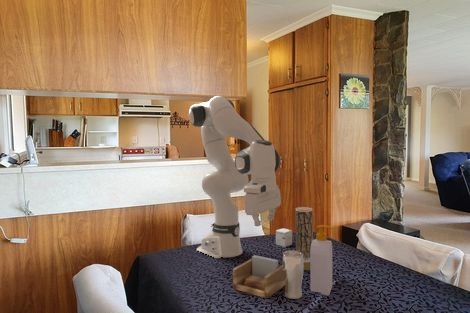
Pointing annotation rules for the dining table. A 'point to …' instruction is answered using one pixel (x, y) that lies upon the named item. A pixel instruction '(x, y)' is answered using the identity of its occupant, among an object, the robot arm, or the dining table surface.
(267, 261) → the grey block
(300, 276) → the beer glass
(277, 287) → the tray
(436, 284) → the dining table surface
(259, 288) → the offcut
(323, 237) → the soap bottle
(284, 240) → the skincare box
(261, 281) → the offcut
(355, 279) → the dining table surface
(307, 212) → the brown bark cylinder
